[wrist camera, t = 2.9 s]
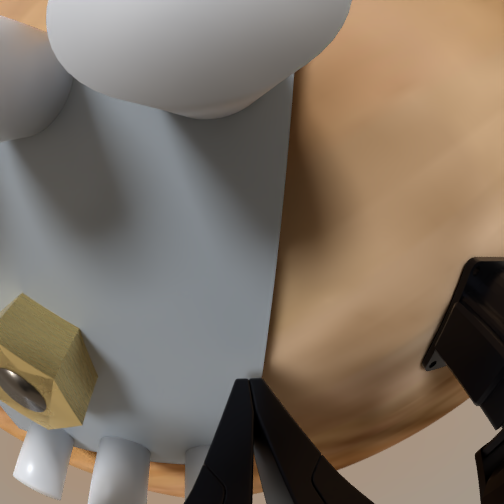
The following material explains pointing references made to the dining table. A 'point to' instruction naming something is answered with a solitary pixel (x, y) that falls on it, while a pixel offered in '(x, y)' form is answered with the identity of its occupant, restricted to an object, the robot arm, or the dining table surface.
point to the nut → (44, 365)
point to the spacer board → (149, 212)
